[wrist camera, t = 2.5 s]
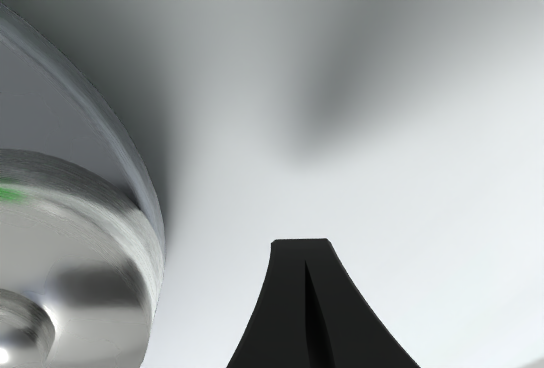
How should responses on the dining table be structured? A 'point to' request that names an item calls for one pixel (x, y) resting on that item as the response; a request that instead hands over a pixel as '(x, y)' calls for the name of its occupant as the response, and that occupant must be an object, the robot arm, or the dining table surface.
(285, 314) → the robot arm
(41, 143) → the turntable
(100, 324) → the cover
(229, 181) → the dining table surface
